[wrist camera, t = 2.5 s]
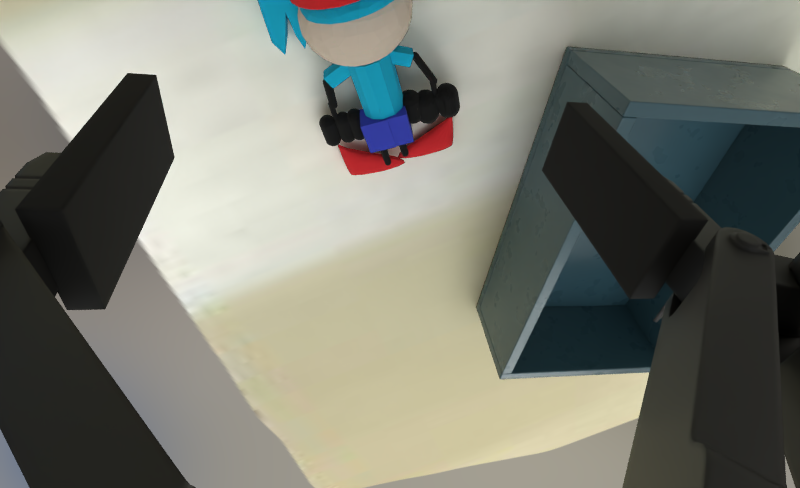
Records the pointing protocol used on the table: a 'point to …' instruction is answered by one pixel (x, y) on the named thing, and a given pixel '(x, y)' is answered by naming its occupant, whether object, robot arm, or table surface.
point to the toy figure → (367, 77)
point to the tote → (674, 159)
